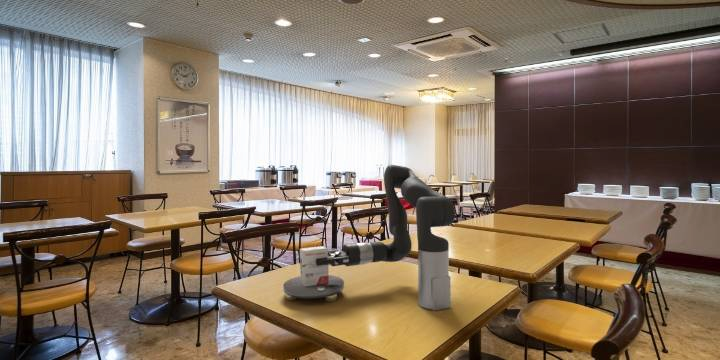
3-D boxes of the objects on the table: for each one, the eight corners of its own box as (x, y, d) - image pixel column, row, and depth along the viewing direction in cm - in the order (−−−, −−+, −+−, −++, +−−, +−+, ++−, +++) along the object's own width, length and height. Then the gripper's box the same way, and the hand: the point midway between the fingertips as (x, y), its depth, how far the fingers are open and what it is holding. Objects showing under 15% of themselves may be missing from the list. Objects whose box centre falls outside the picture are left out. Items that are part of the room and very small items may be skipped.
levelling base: (353, 300, 122) (352, 285, 121) (291, 310, 114) (290, 294, 114) (332, 282, 140) (332, 269, 140) (278, 290, 132) (277, 276, 132)
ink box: (324, 279, 131) (323, 245, 130) (329, 283, 126) (328, 248, 126) (299, 282, 127) (299, 247, 127) (303, 287, 123) (302, 250, 122)
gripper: (349, 239, 139) (306, 243, 133) (365, 247, 126) (318, 252, 119) (350, 260, 139) (306, 265, 133) (365, 269, 126) (318, 276, 120)
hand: (312, 259), depth 126 cm, fingers open, 8 cm apart
